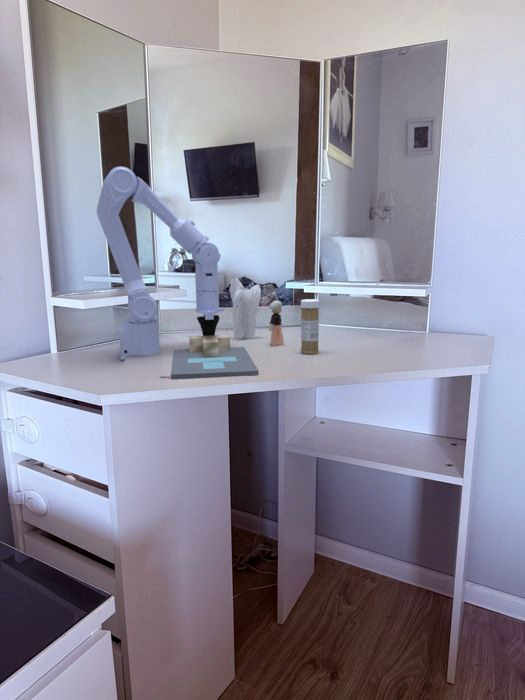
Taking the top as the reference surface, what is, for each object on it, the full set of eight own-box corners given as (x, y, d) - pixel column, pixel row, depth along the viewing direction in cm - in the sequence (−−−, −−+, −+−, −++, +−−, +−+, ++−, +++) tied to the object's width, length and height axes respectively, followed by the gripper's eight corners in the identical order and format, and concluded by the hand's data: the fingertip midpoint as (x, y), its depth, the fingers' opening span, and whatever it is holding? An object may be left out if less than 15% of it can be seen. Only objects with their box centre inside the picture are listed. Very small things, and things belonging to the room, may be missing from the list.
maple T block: (190, 358, 113) (189, 343, 113) (189, 349, 123) (189, 336, 122) (232, 356, 115) (232, 341, 114) (229, 348, 124) (228, 334, 124)
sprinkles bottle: (315, 350, 125) (316, 298, 123) (321, 354, 121) (321, 300, 118) (298, 351, 125) (298, 299, 122) (303, 355, 120) (303, 300, 117)
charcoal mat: (170, 379, 98) (170, 374, 98) (173, 353, 124) (173, 349, 123) (258, 375, 101) (258, 370, 101) (244, 350, 126) (244, 346, 126)
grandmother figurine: (281, 351, 125) (281, 302, 123) (266, 350, 126) (266, 301, 124) (286, 345, 133) (285, 299, 130) (272, 345, 134) (271, 298, 131)
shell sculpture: (263, 342, 137) (262, 278, 134) (234, 344, 135) (233, 279, 131) (254, 337, 145) (254, 277, 142) (228, 339, 143) (226, 277, 139)
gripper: (225, 293, 116) (226, 348, 119) (220, 288, 130) (222, 338, 133) (195, 293, 115) (197, 349, 118) (194, 289, 129) (196, 339, 132)
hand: (208, 343), depth 125 cm, fingers closed
